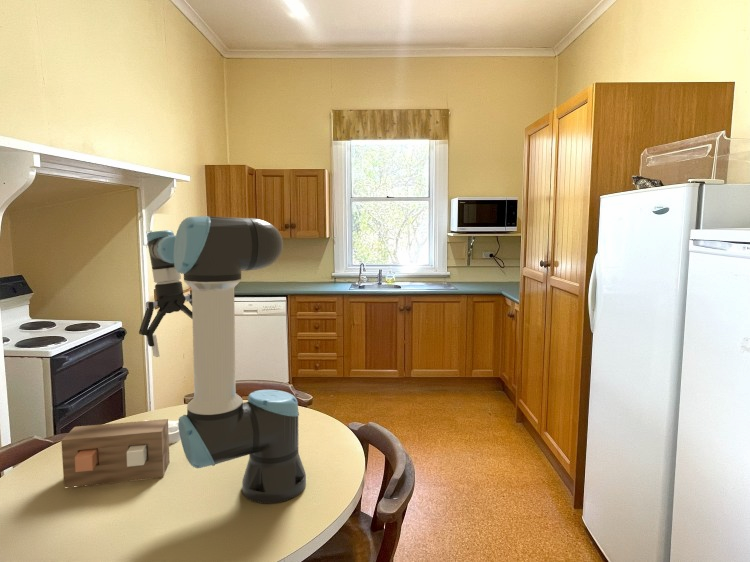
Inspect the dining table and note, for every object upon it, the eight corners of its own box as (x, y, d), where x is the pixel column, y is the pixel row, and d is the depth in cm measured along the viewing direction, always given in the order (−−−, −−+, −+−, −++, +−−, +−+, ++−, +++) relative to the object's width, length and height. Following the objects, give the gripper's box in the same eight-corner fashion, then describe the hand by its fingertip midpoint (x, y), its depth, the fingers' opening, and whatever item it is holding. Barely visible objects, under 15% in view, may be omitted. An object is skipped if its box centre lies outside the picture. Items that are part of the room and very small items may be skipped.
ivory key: (143, 465, 110) (142, 450, 109) (127, 466, 109) (126, 452, 109) (148, 455, 115) (147, 441, 114) (132, 457, 114) (132, 443, 113)
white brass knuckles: (192, 428, 144) (171, 449, 130) (137, 427, 145) (109, 448, 130) (192, 418, 144) (171, 438, 129) (136, 417, 144) (108, 437, 130)
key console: (163, 477, 114) (161, 431, 113) (64, 488, 109) (61, 440, 108) (169, 462, 122) (167, 418, 121) (77, 471, 116) (74, 426, 115)
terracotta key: (92, 470, 107) (91, 455, 107) (75, 472, 106) (74, 457, 106) (99, 460, 112) (99, 446, 112) (83, 461, 111) (82, 447, 111)
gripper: (201, 275, 148) (211, 338, 151) (119, 288, 130) (131, 359, 133) (212, 275, 143) (222, 340, 146) (128, 289, 125) (141, 363, 128)
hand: (179, 350), depth 139 cm, fingers open, 13 cm apart
